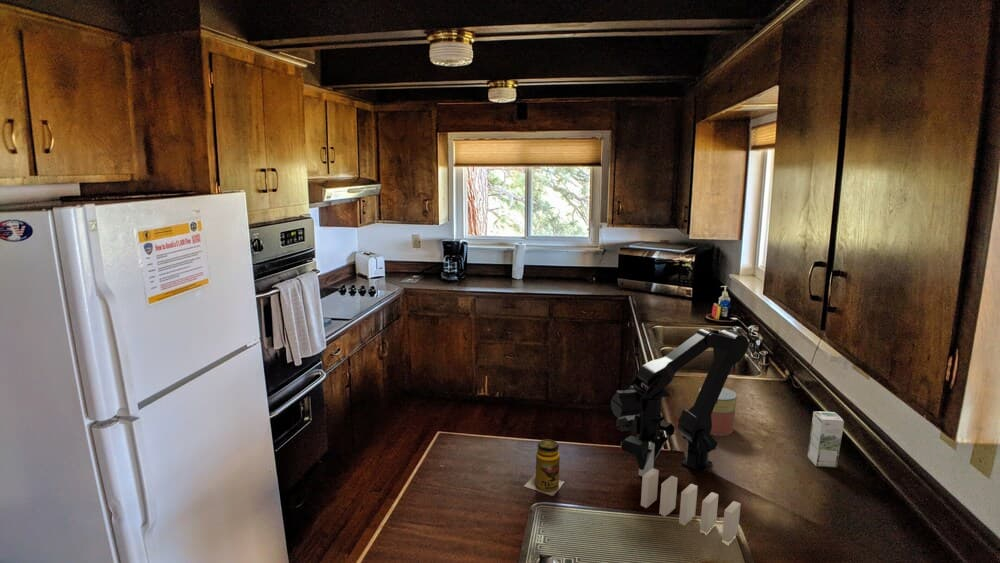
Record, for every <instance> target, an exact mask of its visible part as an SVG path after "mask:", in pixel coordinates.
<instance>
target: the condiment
mask: <svg viewBox="0 0 1000 563" xmlns="http://www.w3.org/2000/svg"><path fill="white" fill-rule="evenodd" d="M535 456H536V457H535V473H534V474H533V476H532V477H531V478H530V479H529V480H528V481H527V482H526V483H525V484H524V485H523V487H525V488H527V489H530V490H535V491H537V492H539V493H543V494H546V495H549V496H551V497H552V496H553V497H554V496H555V494H556V493H557V492H558V491H559V490H560V489H561V487H562V486H563V484H564V483H565V481H564V480H560V459H561V458H560V457H561V456H560V452H559V444H558V442H557V441H556V440H554V439H550V438H548V439H546V438H545V439H542V440H540V441H539V442H538V443H537V451H536V454H535Z"/></svg>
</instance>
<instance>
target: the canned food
mask: <svg viewBox="0 0 1000 563" xmlns="http://www.w3.org/2000/svg"><path fill="white" fill-rule="evenodd" d="M701 388H702V386H700V387H699V388H698V393H699V392H700V390H701ZM737 396H738V394H737V392H736V391H734V390H732V389H730V388H728V387H724V386H723V388H722V391H721V393H720V395H719V398H718V400H717V402H716V404H715V407H714V409H713V411H712V414H711V419H712V429H711V433H710V435H711V434H713V436H717V435H719V436H721V437H725V435H726V436H730V435H731V433H732V432H734V426H735V424H734V423H735V416H736V415H735V414H736V413H735V412H736V403H737ZM729 434H730V435H729ZM732 434H733V433H732ZM722 435H724V436H722ZM719 436H718V437H719Z"/></svg>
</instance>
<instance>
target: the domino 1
mask: <svg viewBox="0 0 1000 563" xmlns="http://www.w3.org/2000/svg"><path fill="white" fill-rule="evenodd" d="M648 449H650V450H652V452H651V454H650V457H649V459H648V461H647V463H646V466H645V468H644V470H641V469H639V468H638V476H640V477H642V478H643V475H644V474H646V473H647V472H648V471H650V470H651V469H652V468H654V462H655V460H654V450H655V443H653V442H649V448H648Z"/></svg>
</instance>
